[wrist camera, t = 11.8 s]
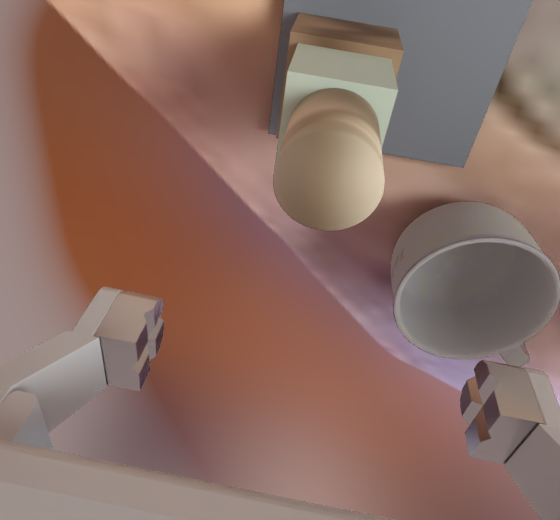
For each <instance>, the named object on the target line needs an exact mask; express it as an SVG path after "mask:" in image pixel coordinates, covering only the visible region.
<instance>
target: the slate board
mask: <svg viewBox="0 0 560 520" xmlns="http://www.w3.org/2000/svg"><path fill="white" fill-rule="evenodd" d="M531 3H532V0H284V7H283V15H282V24H281V32H280V40H279V48H278V57H277V65H276V73H275V82H274V90H273V98H272V106H271V115H270V123H269V131H268V133H269V134H274V135H277V130H278V122H279V115H280V107H281V99H282V92H283V84H284V77H285V69H286V62H287V54H288V47H289V39H290V31H291V29H292V27H293V25H294V23H295V21H296V18H297V16H298V14H299V12H301V13H307V14H312V15H318V16H324V17H330V18H336V19H342V20H348V21H353V22H359V23H365V24H371V25H377V26H383V27H389V28H394V29H397V30H398V33H399V36H400V40H401V43H402V46H403V49H404V52H403V56H402V60H401V63H400V67H399V70H398V74H397V78H396V82H397V87H398V93H397V96H396V100H395V103H394V107H393V110H392V114H391V117H390V121H389V124H388V128H387V131H386V135H385V139H384V142H383V146H382V154H388V155H394V156H399V157H405V158H411V159H416V160H422V161H428V162H433V163H439V164H445V165H450V166H456V167H462V168H464V165H465V163H466V160H467V158H468V155H469V153H470V151H471V148H472V146H473V143H474V141H475V139H476V136H477V134H478V131H479V129H480V126H481V124H482V122H483V119H484V117H485V114H486V112H487V109H488V107H489V105H490V102H491V100H492V97H493V95H494V92H495V90H496V88H497V85H498V83H499V80H500V78H501V76H502V73H503V71H504V68H505V66H506V63H507V61H508V59H509V56H510V54H511V51H512V49H513V46H514V44H515V42H516V39H517V37H518V34H519V32H520V29H521V27H522V25H523V22H524V20H525V17H526V15H527V12H528V10H529V8H530V5H531Z"/></svg>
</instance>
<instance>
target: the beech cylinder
mask: <svg viewBox="0 0 560 520" xmlns="http://www.w3.org/2000/svg"><path fill="white" fill-rule="evenodd" d="M384 185H385V178H384V168H383V158H382V148H381V139H380V129H379V122H378V118H377V116H376V113H375V111H374V110H373V108H372V107H371V105H370V104H369V103H368V102H367V101H366V100H365V99H364V98H363V97H361V96H360V95H358V94H356V93H355V92H352V91H350V90H346V89H342V88H327V89H322V90H318V91H316V92H313V93H311V94H310V95H308V96H306V97H305V98H304V99H303V100H301V101H300V102H299V103H298V105H297V106H296V107H295V109H294V110H293V112H292V114H291V116H290V119H289V121H288V125H287V128H286V132H285V135H284V139H283V142H282V146H281V149H280V152H279V156H278V159H277V163H276V166H275V170H274V175H273V187H274V192H275V195H276V198H277V200H278V202H279V204H280V206H281V207H282V209H283V210H284V211H285V212H286V213H287V214H288V215H289V216H290V217H291V218H292V219H293V220H295V221H297V222H298V223H300V224H302V225H304V226H306V227H309V228H312V229H316V230H323V231H336V230H342V229H346V228H349V227H352V226H354V225H356V224H358V223H360V222H362V221H363V220H365V219H366V218H367V217H368V216H369V215H370V214H371V213H372V212H373V211H374V210H375V209H376V207H377V206H378V204H379V202H380V201H381V198H382V195H383V191H384Z"/></svg>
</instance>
